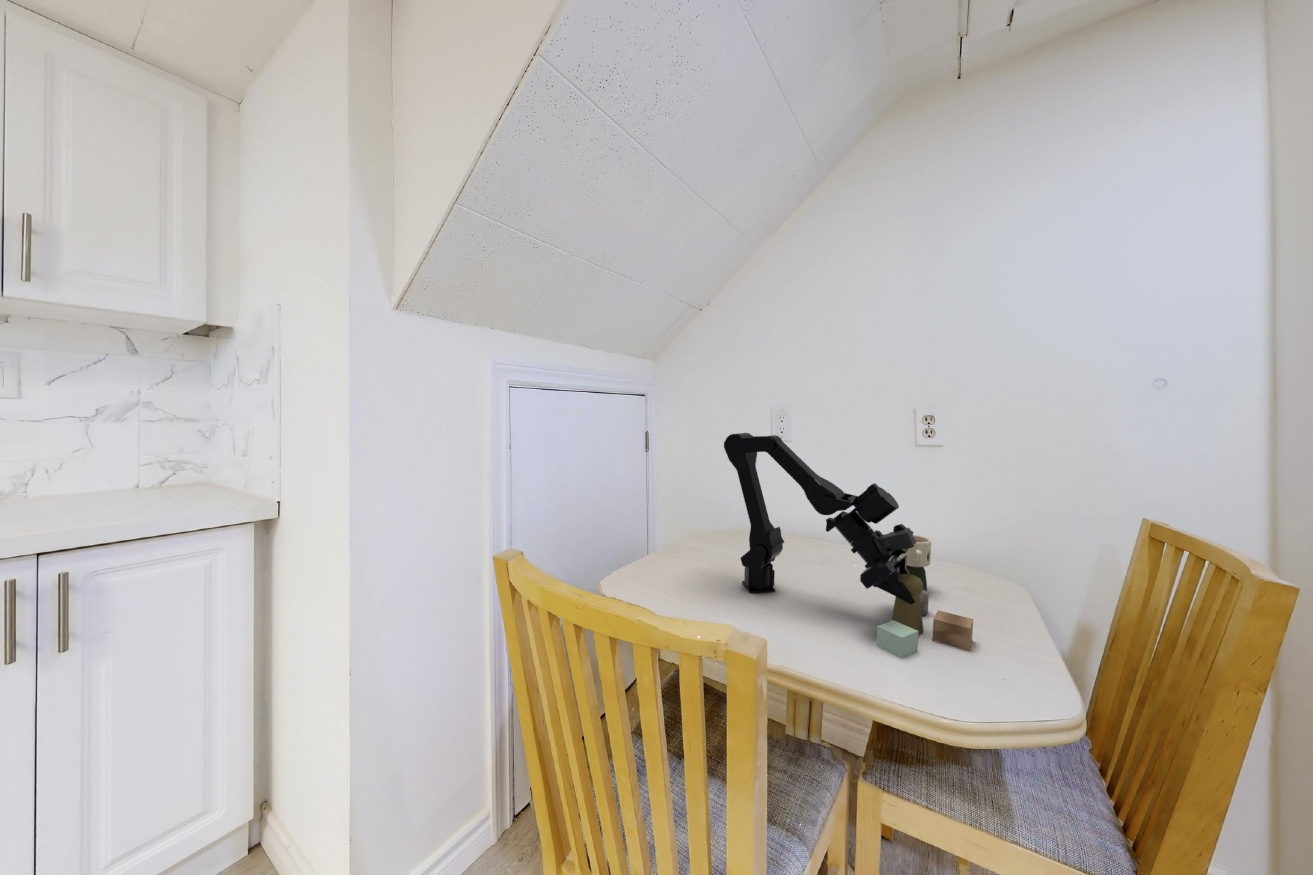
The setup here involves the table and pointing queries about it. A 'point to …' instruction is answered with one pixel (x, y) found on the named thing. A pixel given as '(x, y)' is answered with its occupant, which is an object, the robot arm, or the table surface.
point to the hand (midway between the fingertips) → (915, 598)
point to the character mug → (919, 558)
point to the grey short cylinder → (924, 602)
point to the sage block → (897, 638)
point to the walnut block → (952, 630)
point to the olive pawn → (906, 611)
